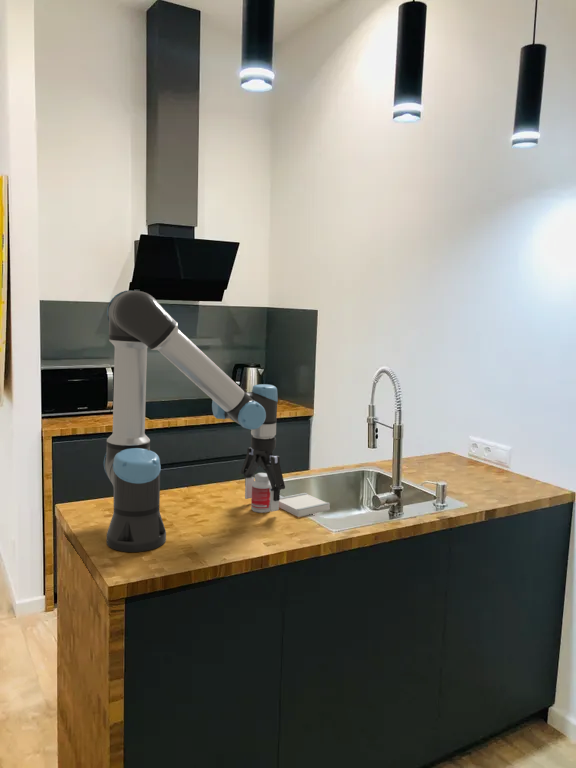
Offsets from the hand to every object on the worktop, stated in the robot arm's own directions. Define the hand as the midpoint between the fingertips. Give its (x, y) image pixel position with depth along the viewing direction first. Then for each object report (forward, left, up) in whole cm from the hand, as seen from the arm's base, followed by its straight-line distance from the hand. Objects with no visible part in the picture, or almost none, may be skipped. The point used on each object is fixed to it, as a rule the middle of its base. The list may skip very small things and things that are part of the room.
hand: (261, 504), depth 194 cm
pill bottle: (0, 0, -2) cm, 2 cm away
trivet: (+12, -5, -2) cm, 13 cm away
